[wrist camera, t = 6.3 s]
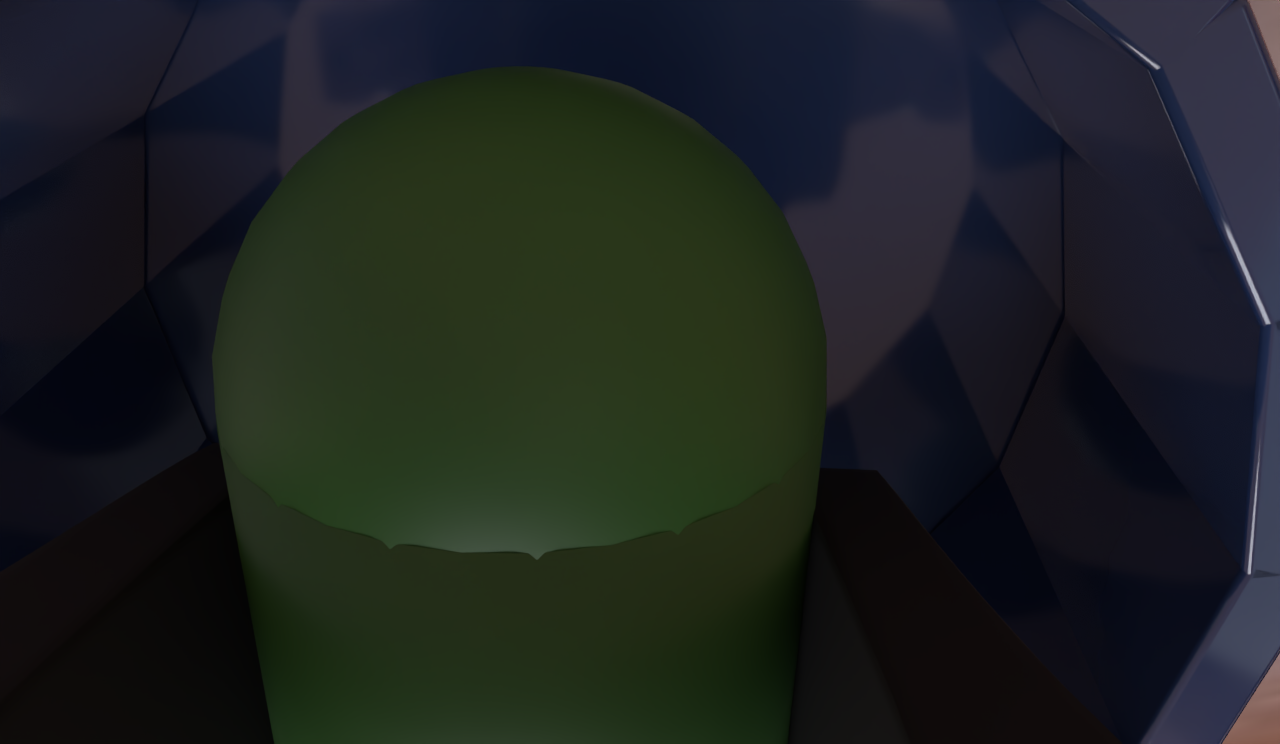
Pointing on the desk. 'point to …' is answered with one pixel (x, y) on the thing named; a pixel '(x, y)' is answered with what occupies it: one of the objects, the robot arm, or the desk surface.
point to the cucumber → (522, 425)
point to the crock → (827, 236)
